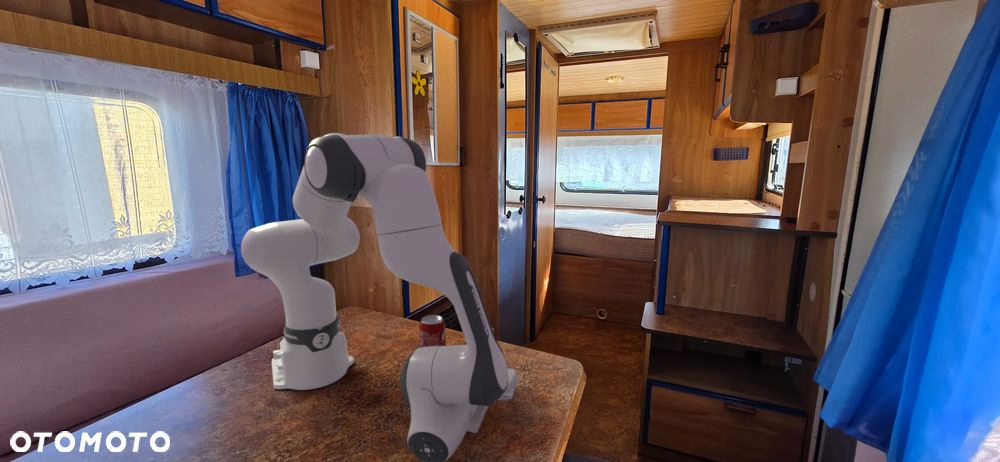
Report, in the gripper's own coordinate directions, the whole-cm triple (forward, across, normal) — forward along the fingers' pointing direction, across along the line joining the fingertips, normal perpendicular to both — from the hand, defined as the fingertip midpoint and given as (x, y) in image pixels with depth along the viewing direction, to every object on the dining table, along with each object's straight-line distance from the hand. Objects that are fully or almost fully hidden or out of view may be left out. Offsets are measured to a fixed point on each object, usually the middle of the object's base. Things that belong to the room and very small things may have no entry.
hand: (479, 359), depth 91 cm
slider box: (-3, 0, +7) cm, 8 cm away
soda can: (+8, +15, +7) cm, 19 cm away
